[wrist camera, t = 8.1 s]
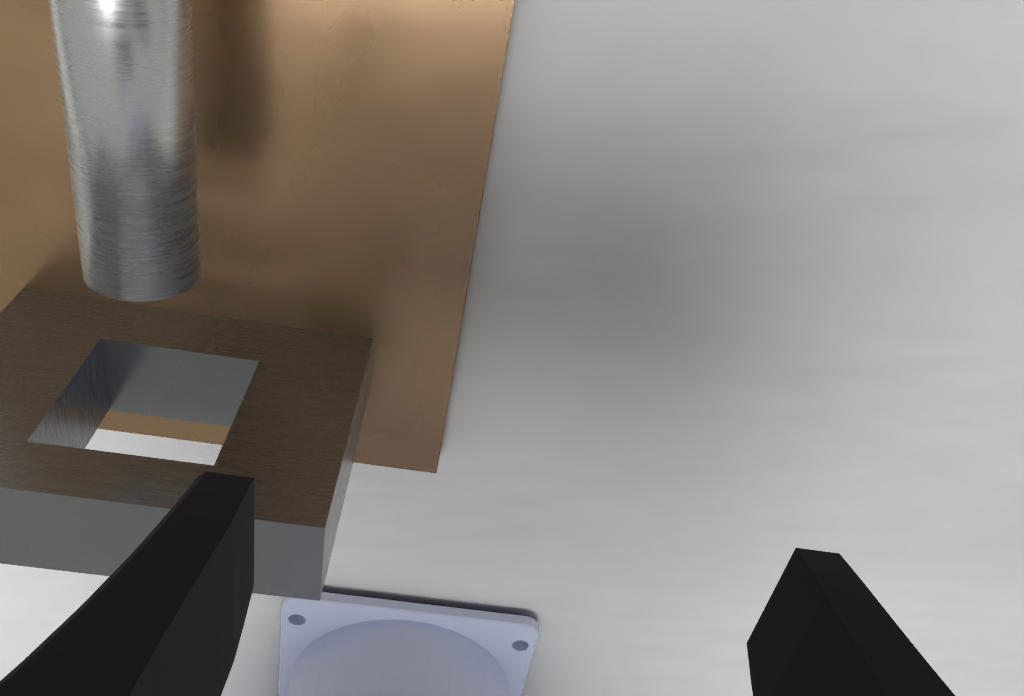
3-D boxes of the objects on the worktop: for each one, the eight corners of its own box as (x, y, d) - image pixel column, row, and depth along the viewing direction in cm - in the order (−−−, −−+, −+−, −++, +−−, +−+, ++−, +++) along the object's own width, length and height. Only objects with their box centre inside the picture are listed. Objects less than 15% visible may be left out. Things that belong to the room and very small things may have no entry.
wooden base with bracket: (439, 453, 24) (412, 675, 18) (-20, 391, 22) (-203, 606, 17) (579, -404, 14) (623, -522, 8) (-236, -589, 12) (-875, -883, 7)
